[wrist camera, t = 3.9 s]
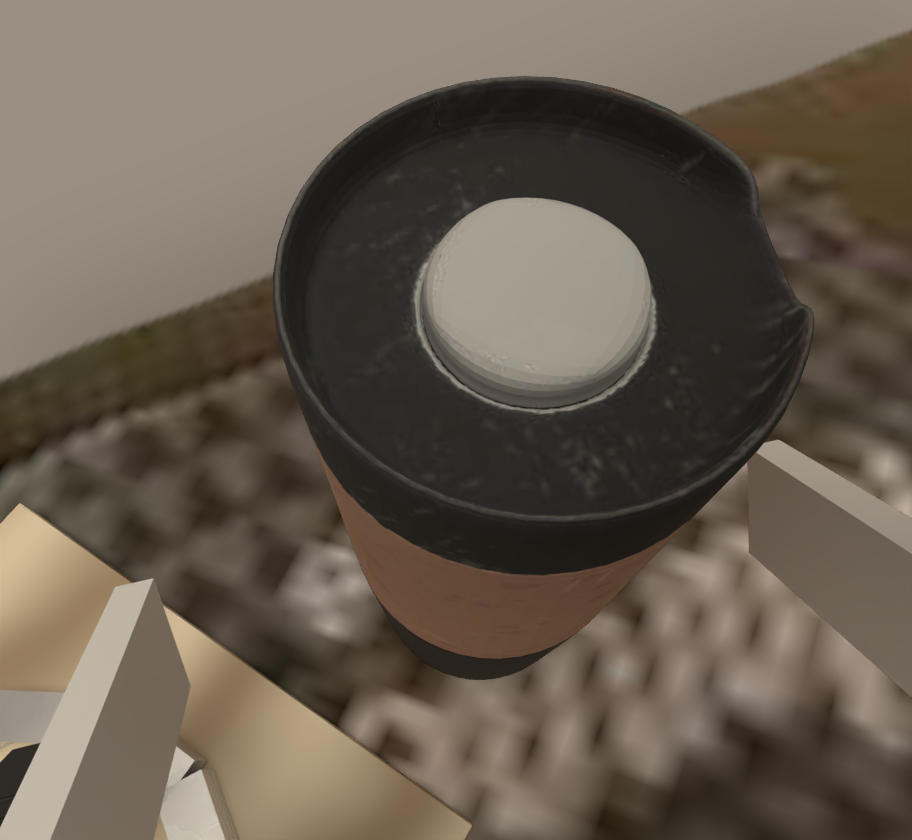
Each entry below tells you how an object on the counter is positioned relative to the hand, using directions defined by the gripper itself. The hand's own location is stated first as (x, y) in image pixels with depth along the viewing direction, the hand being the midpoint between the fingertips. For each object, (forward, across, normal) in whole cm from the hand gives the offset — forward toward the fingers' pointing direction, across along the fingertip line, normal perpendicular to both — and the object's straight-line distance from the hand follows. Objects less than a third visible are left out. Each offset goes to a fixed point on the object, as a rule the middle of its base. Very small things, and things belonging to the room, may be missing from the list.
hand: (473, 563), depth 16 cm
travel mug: (+10, +1, -7) cm, 13 cm away
